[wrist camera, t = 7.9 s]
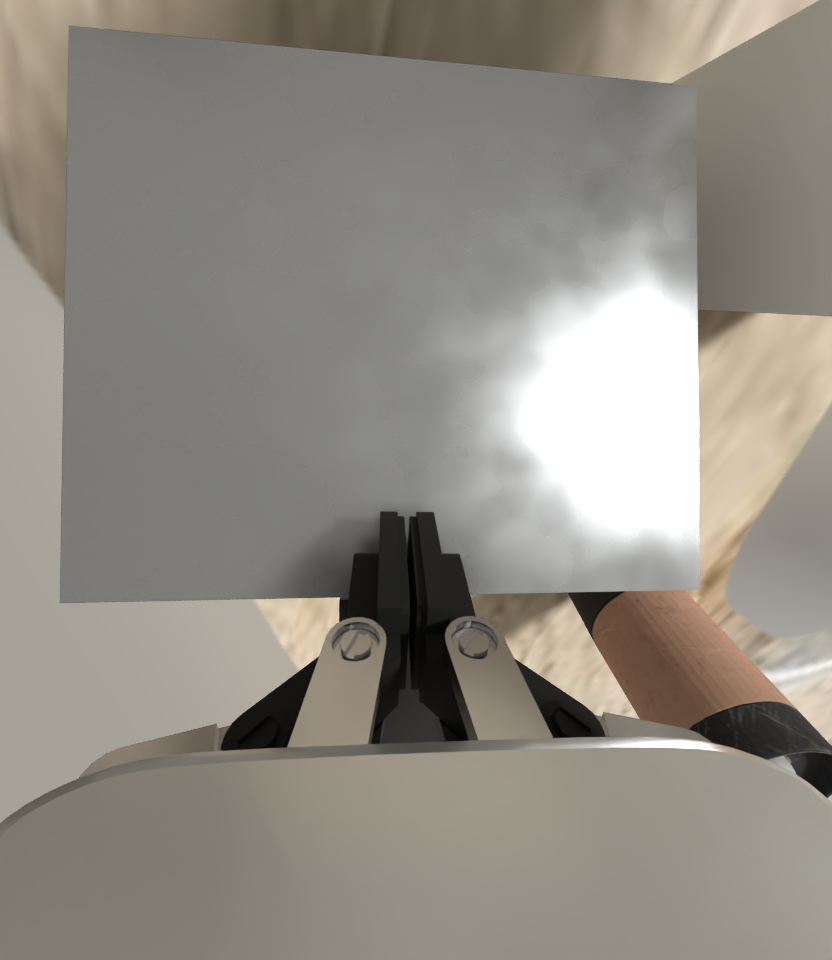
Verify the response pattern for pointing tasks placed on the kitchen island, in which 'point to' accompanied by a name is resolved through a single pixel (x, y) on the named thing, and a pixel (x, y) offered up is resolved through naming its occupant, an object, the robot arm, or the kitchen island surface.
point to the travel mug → (699, 679)
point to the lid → (373, 324)
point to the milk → (767, 170)
